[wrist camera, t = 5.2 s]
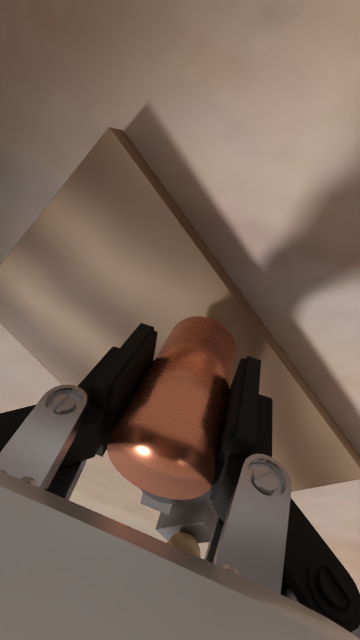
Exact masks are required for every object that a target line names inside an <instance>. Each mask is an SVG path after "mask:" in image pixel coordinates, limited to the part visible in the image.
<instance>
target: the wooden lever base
mask: <svg viewBox="0 0 360 640" xmlns="http://www.w3.org/2000/svg"><path fill="white" fill-rule="evenodd" d="M195 316H201V317H207V318H211V319H214V320H216V321H218V322H219V323H221V324H222V325H224V326H225V327H226V328H227V329H228V330H229V332H230V333H231V334H232V336H233V338H234V341H235V345H236V353H235V359H234V365H233V371H232V377H231V382H230V387H231V384H232V381H233V378H234V376H235V373H236V370H237V367H238V365H239V362H240V359H241V358H244V359H246V357H247V356H249V357H253V358H256V359H259V360H261V370H260V385H259V394H260V395H263V396H266V397H270V398H272V402H273V412H272V458H274V459H275V460H277V461H278V462H279V463H280V464H281V465H282V466H283V467H284V468H285V470H286V471H287V473H288V475H289V477H290V480H291V488H292V490H291V492H292V491H297V490H303V489H308V488H314V487H319V486H325V485H330V484H336V483H341V482H347V481H352V480H358V479H360V457H359V455H358V454H357V452H356V451H355V450H354V448H353V447H352V446H351V444H350V443H349V441H348V440H347V439H346V437H345V436H344V434H343V433H342V432H341V430H340V429H339V428H338V426H337V425H336V423H335V422H334V421H333V419H332V418H331V417H330V415H329V414H328V412H327V411H326V410H325V408H324V407H323V406H322V404H321V403H320V401H319V400H318V399H317V397H316V396H315V395H314V393H313V392H312V390H311V389H310V388H309V386H308V385H307V384H306V382H305V381H304V379H303V378H302V377H301V375H300V374H299V373H298V371H297V370H296V368H295V367H294V366H293V364H292V363H291V362H290V360H289V359H288V357H287V356H286V355H285V353H284V352H283V350H282V349H281V348H280V346H279V345H278V344H277V342H276V341H275V339H274V338H273V337H272V335H271V334H270V333H269V331H268V330H267V328H266V327H265V326H264V324H263V323H262V322H261V320H260V319H259V317H258V316H257V315H256V313H255V312H254V311H253V309H252V308H251V306H250V305H249V304H248V302H247V301H246V300H245V298H244V297H243V295H242V294H241V293H240V291H239V290H238V289H237V287H236V286H235V284H234V283H233V282H232V280H231V279H230V277H229V276H228V275H227V273H226V272H225V271H224V269H223V268H222V266H221V265H220V264H219V262H218V261H217V260H216V258H215V257H214V255H213V254H212V253H211V251H210V250H209V249H208V247H207V246H206V244H205V243H204V242H203V240H202V239H201V238H200V236H199V235H198V233H197V232H196V231H195V229H194V228H193V227H192V225H191V224H190V222H189V221H188V220H187V218H186V217H185V216H184V214H183V213H182V211H181V210H180V209H179V207H178V206H177V205H176V203H175V202H174V200H173V199H172V198H171V196H170V195H169V193H168V192H167V191H166V189H165V188H164V187H163V185H162V184H161V182H160V181H159V180H158V178H157V177H156V176H155V174H154V173H153V171H152V170H151V169H150V167H149V166H148V165H147V163H146V162H145V160H144V159H143V158H142V156H141V155H140V154H139V152H138V151H137V149H136V148H135V147H134V145H133V144H132V143H131V141H130V140H129V138H128V137H127V136H126V134H125V133H124V132H123V131H122V130H118V129H114V128H110V127H109V128H108V129H107V131H106V132H105V133H104V134H103V136H102V137H101V138H100V140H99V141H98V142H97V143H96V145H95V146H94V147H93V148H92V150H91V151H90V152H89V153H88V155H87V156H86V157H85V158H84V160H83V161H82V162H81V164H80V165H79V166H78V167H77V169H76V170H75V171H74V172H73V174H72V175H71V176H70V177H69V179H68V180H67V181H66V183H65V184H64V185H63V186H62V188H61V189H60V190H59V191H58V193H57V194H56V195H55V196H54V198H53V199H52V200H51V201H50V203H49V204H48V205H47V207H46V208H45V209H44V210H43V212H42V213H41V214H40V215H39V217H38V218H37V219H36V220H35V222H34V223H33V224H32V226H31V227H30V228H29V229H28V231H27V232H26V233H25V234H24V236H23V237H22V238H21V239H20V241H19V242H18V243H17V244H16V246H15V247H14V248H13V250H12V251H11V252H10V253H9V255H8V256H7V257H6V258H5V260H4V261H3V262H2V263H1V265H0V323H1V324H2V325H3V326H4V327H5V328H6V329H7V330H8V331H9V332H10V333H11V334H12V335H13V336H14V337H15V338H16V339H17V340H18V341H19V342H20V343H21V344H22V345H23V346H24V347H25V348H26V349H27V350H28V351H29V352H30V353H31V354H32V355H33V356H34V357H35V358H36V359H37V360H38V361H39V362H40V363H41V364H42V365H43V366H44V367H45V368H46V369H47V370H48V371H49V372H50V373H51V374H52V375H53V376H54V377H55V378H56V379H57V380H58V381H59V382H60V383H61V384H62V385H75V386H78V385H79V384H80V383H81V381H82V380H83V379H84V378H85V377H86V376H87V375H88V374H89V372H90V371H91V370H92V369H93V368H94V367H95V366H96V365H97V363H98V362H99V361H100V360H101V359H102V358H103V357H104V356H105V354H106V353H107V352H108V351H109V350H110V349H111V348H112V347H114V346H115V347H118V348H120V347H121V346H122V345H123V344H124V342H125V341H126V340H127V339H128V338H129V336H130V335H131V334H132V333H133V332H134V331H135V329H136V328H137V327H138V326H139V325H140V324H141V323H143V324H146V325H150V326H153V327H154V331H157V332H158V334H157V341H156V347H155V354H154V360H155V358H156V356H157V355H158V353H159V351H160V349H161V348H162V346H163V344H164V343H165V341H166V339H167V337H168V336H169V334H170V332H171V331H172V329H173V328H174V326H175V325H176V324H177V323H178V322H180V321H182V320H183V319H186V318H189V317H195ZM154 360H153V361H154ZM229 389H230V388H229ZM210 494H211V489H209V490H208V491H207V492H206V493H205V494H203V495H201V496H199V497H197V498H193V499H186V500H182V501H181V502H179V503H175V504H172V507H171V510H170V512H169V515H167V514H165V513H162V512H161V513H160V517H159V520H158V523H157V526H156V530H157V531H158V532H159V533H160V534H161V535H162V536H163V537H164V538H166V539H167V540H168V542H167V544H170V545H172V546H174V547H176V548H179V549H181V550H183V551H186V552H188V553H190V554H192V555H195V556H197V557H199V558H200V548H199V545H198V543H203V542H210V539H211V536H212V533H213V530H214V526H215V523H216V520H217V517H218V514H217V513H216V511H215V509H214V507H213V505H212V500H209V499H210Z"/></svg>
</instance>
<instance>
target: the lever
mask: <svg viewBox="0 0 360 640" xmlns="http://www.w3.org/2000/svg"><path fill="white" fill-rule="evenodd" d="M235 353H236V345H235V341H234V338H233V336H232V334H231V333H230V332H229V330H228V329H227V328H226V327H225V326H224V325H222V324H221V323H219V322H218V321H216V320H214V319H211V318H207V317H201V316H195V317H189V318H186V319H183V320H182V321H180V322H178V323H177V324H176V325H175V326H174V328H173V329H172V331H171V332H170V334H169V336H168V337H167V339H166V341H165V343H164V344H163V346H162V348H161V349H160V351H159V353H158V355H157V356H156V358H155V360H154V361H153V363H152V365H151V367H150V368H149V370H148V372H147V373H146V375H145V377H144V379H143V380H142V382H141V384H140V385H139V387H138V389H137V390H136V392H135V394H134V396H133V397H132V399H131V401H130V402H129V404H128V406H127V408H126V409H125V411H124V413H123V414H122V416H121V418H120V420H119V421H118V423H117V425H116V426H115V428H114V430H113V432H112V433H111V435H110V437H109V439H108V443H107V450H108V455H109V457H110V460H111V462H112V463H113V465H114V466H115V468H116V469H117V470H118V471H119V472H120V473H121V475H122V476H124V477H125V478H126V479H127V480H128V481H130V482H131V483H132V484H134V485H135V486H137V487H139V488H140V489H141V490H142V491H143V495H142V499H141V504H143V505H145V506H148V507H150V508H153V509H155V510H158V511H160V512H162V513H165V514H167V515H169V512H170V510H171V507H172V504H175V503H179V502H181V501H182V500H186V499H193V498H197V497H199V496H201V495H203V494H205V493H206V492H207V491H208V490H209V489H210V488H211V486H212V484H213V481H214V475H215V468H216V461H217V455H218V450H219V444H220V439H221V433H222V428H223V422H224V417H225V411H226V406H227V400H228V394H229V388H230V382H231V377H232V371H233V365H234V359H235Z"/></svg>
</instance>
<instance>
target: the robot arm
mask: <svg viewBox="0 0 360 640" xmlns="http://www.w3.org/2000/svg"><path fill="white" fill-rule="evenodd" d="M157 334H158V332H157V331H154V327H153V326H150V325H146V324H143V323H141V324H140V325H139V326H138V327H137V328H136V329H135V331H134V332H133V333H132V334H131V335H130V336H129V338H128V339H127V340H126V341H125V342H124V344H123V345H122V346H121V347H120V348H118V347H115V346H114V347H112V348H111V349H110V350H109V351H108V352H107V353H106V354H105V356H104V357H103V358H102V359H101V360H100V361H99V362H98V363H97V365H96V366H95V367H94V368H93V369H92V370H91V371H90V372H89V374H88V375H87V376H86V377H85V378H84V379H83V380H82V381H81V383H80V384H79V385H78V386H75V385H60V386H57V387H54V388H52V389H51V390H49V391H48V392H47V393H46V394H45V395H43V397H42V398H41V399H40V401H39V402H38V403H37V405H33V406H29V407H25V408H21V409H17V410H13V411H8V412H4V413H0V640H360V594H359V591H358V589H357V586H356V584H355V582H354V581H353V579H352V578H351V576H350V575H349V573H348V572H347V570H346V569H345V568H344V566H343V565H342V564H341V562H340V561H339V560H338V559H337V557H336V556H335V555H334V553H333V552H332V551H331V549H330V548H329V547H328V546H327V544H326V543H325V542H324V540H323V539H322V538H321V536H320V535H319V534H318V532H317V531H316V530H315V529H314V527H313V526H312V525H311V523H310V522H309V521H308V519H307V518H306V517H305V516H304V514H303V513H302V512H301V510H300V509H299V508H298V506H297V505H296V504H295V502H294V501H293V500H292V499H291V490H292V488H291V480H290V477H289V475H288V473H287V471H286V470H285V468H284V467H283V466H282V465H281V464H280V463H279V462H278V461H277V460H275V459H274V458H272V412H273V402H272V398H270V397H266V396H263V395H260V394H259V385H260V370H261V360H259V359H256V358H253V357H249V356H247V357H246V359H244V358H241V359H240V362H239V365H238V367H237V370H236V373H235V376H234V378H233V381H232V384H231V387H230V389H229V394H228V400H227V406H226V411H225V417H224V422H223V428H222V433H221V439H220V444H219V450H218V455H217V461H216V468H215V475H214V481H213V484H212V486H211V488H210V489H211V494H210V499H209V500H212V505H213V507H214V509H215V511H216V513H217V514H218V517H217V520H216V523H215V526H214V530H213V533H212V536H211V539H210V542H209V546H208V549H207V552H206V555H205V558H204V559H201V558H199V557H197V556H195V555H192V554H190V553H188V552H186V551H183V550H181V549H179V548H176V547H174V546H172V545H170V544H167V543H165V542H163V541H161V540H158V539H156V538H154V537H152V536H149V535H147V534H145V533H142V532H140V531H138V530H136V529H133V528H131V527H129V526H126V525H124V524H122V523H120V522H117V521H115V520H113V519H110V518H108V517H106V516H103V515H101V514H99V513H97V512H94V511H92V510H90V509H87V508H85V507H83V506H81V505H78V504H76V503H74V502H71V501H69V498H70V496H71V494H72V492H73V490H74V487H75V485H76V483H77V481H78V479H79V477H80V474H81V472H82V470H83V468H84V466H85V463H86V460H87V459H89V458H92V457H94V456H95V454H97V455H99V456H103V455H104V453H105V451H106V450H107V443H108V439H109V437H110V435H111V433H112V432H113V430H114V428H115V426H116V425H117V423H118V421H119V420H120V418H121V416H122V414H123V413H124V411H125V409H126V408H127V406H128V404H129V402H130V401H131V399H132V397H133V396H134V394H135V392H136V390H137V389H138V387H139V385H140V384H141V382H142V380H143V379H144V377H145V375H146V373H147V372H148V370H149V368H150V367H151V365H152V363H153V360H154V354H155V347H156V341H157Z"/></svg>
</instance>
